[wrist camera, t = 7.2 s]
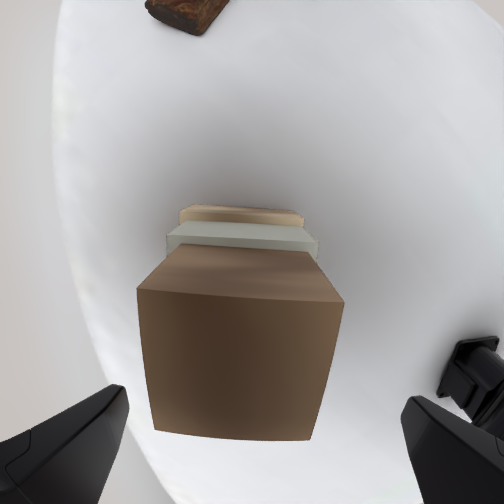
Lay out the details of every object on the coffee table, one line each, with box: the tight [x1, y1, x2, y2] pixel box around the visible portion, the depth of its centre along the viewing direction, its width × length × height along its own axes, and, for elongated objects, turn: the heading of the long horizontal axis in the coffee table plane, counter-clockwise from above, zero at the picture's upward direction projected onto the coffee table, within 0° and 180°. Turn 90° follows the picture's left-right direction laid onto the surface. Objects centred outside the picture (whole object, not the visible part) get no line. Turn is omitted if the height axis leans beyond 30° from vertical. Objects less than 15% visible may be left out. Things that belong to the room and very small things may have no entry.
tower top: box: [166, 220, 319, 263], centre depth 14 cm, size 6×6×4 cm
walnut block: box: [137, 243, 344, 441], centre depth 10 cm, size 5×5×5 cm
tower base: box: [179, 204, 304, 227], centre depth 18 cm, size 6×6×4 cm
